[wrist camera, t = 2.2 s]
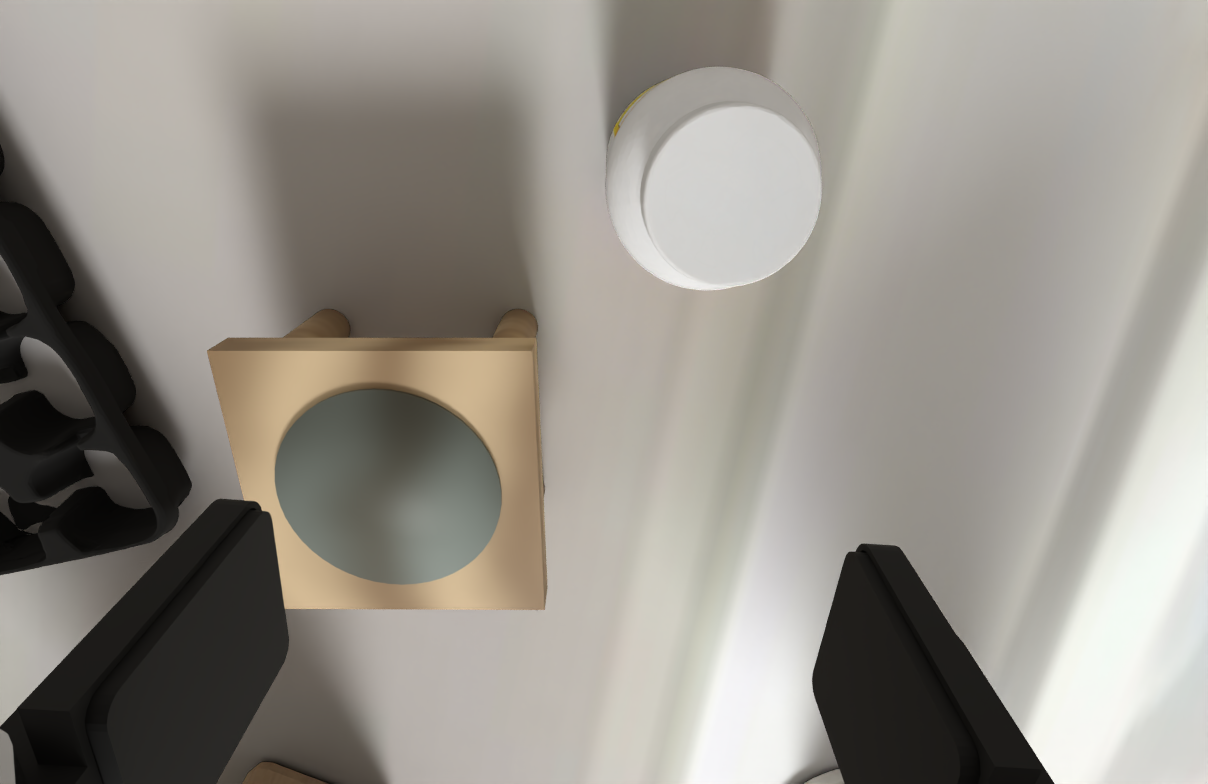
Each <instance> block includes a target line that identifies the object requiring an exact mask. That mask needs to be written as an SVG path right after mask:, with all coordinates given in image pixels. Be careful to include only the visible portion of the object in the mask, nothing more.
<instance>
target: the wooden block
mask: <svg viewBox="0 0 1208 784" xmlns="http://www.w3.org/2000/svg"><path fill="white" fill-rule="evenodd" d="M242 784H328V783H325V782H323V781H320V780H317V779H315V778H312V777H309V776H307V775H304V774H301V773H299V772H296V771H293V770H291V769H288V768H285V767H283V766H280V765H278V764H275V763H272V762H261V763H259V764H258V765H257V766H256V767H254V768H253V769H252V770H251V771H250V772H249V773H248V774H247V776H246V778H245V779H244V781H243V783H242Z"/></svg>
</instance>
